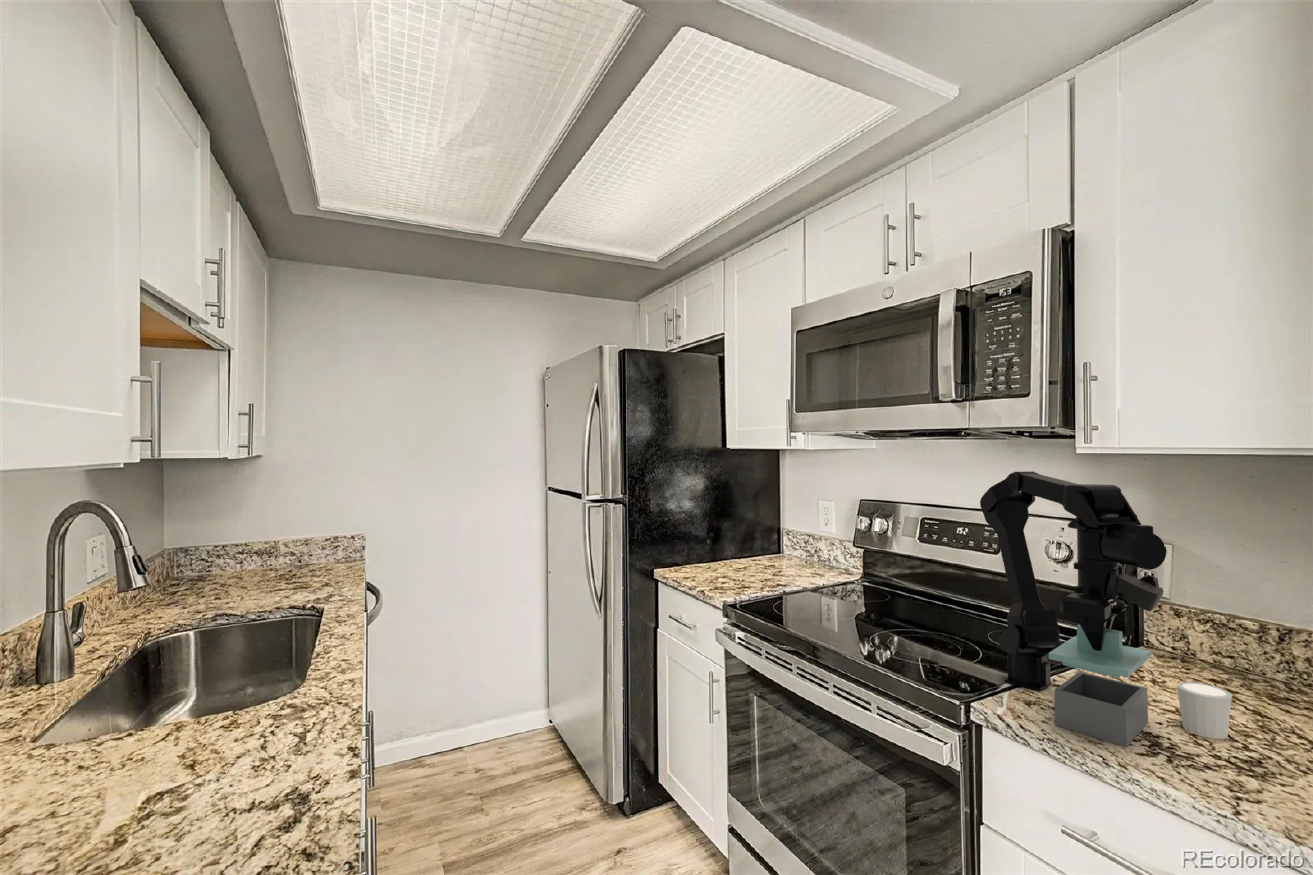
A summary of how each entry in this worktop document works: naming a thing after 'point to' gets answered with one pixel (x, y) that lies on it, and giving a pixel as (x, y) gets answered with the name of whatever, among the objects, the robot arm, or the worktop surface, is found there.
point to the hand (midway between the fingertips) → (1099, 648)
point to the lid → (1100, 655)
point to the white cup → (1204, 709)
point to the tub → (1101, 708)
